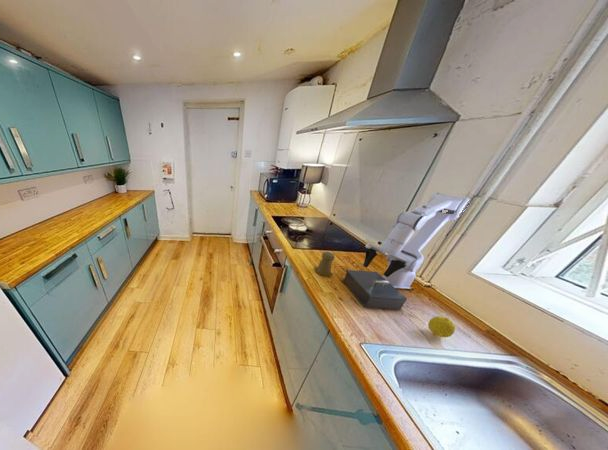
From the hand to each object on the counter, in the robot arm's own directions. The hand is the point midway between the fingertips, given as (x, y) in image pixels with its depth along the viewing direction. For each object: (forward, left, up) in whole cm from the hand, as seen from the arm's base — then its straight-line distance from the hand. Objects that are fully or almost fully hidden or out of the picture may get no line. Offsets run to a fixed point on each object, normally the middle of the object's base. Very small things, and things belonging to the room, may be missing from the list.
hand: (374, 271), depth 79 cm
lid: (-2, -1, -7) cm, 7 cm away
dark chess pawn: (+11, -14, -13) cm, 22 cm away
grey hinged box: (-2, 0, -12) cm, 13 cm away
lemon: (-12, +18, -13) cm, 25 cm away
